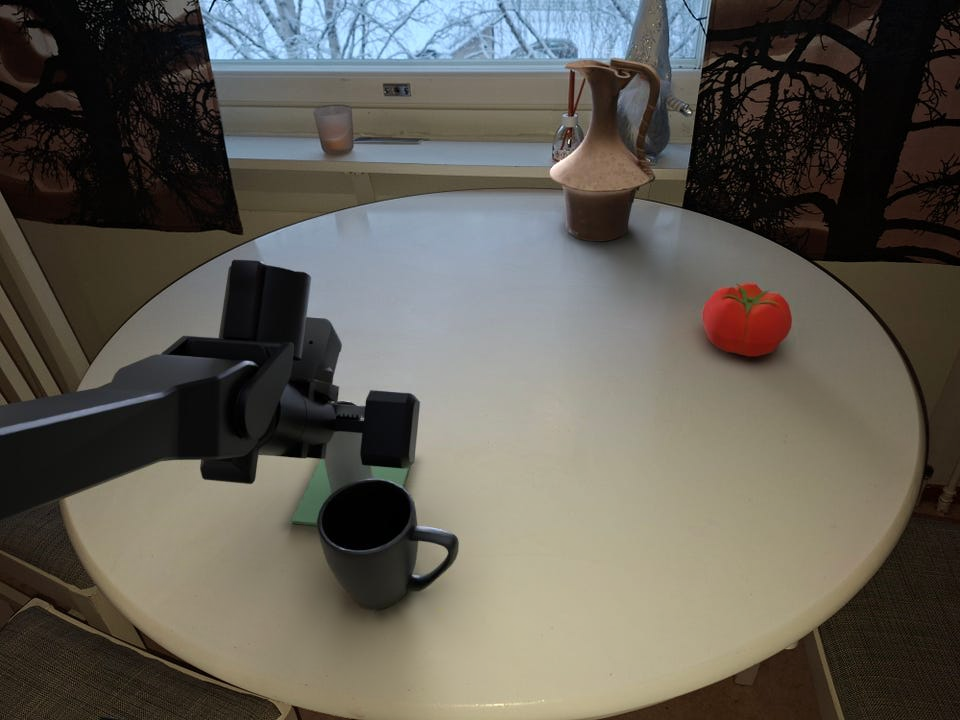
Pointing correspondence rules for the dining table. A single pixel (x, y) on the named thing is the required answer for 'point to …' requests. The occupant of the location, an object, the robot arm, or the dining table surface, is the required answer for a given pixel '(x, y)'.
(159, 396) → the robot arm
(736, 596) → the dining table surface
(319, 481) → the green mat
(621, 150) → the pitcher
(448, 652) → the dining table surface
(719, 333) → the tomato
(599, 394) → the dining table surface
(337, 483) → the grey tumbler
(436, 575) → the mug
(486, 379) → the dining table surface
